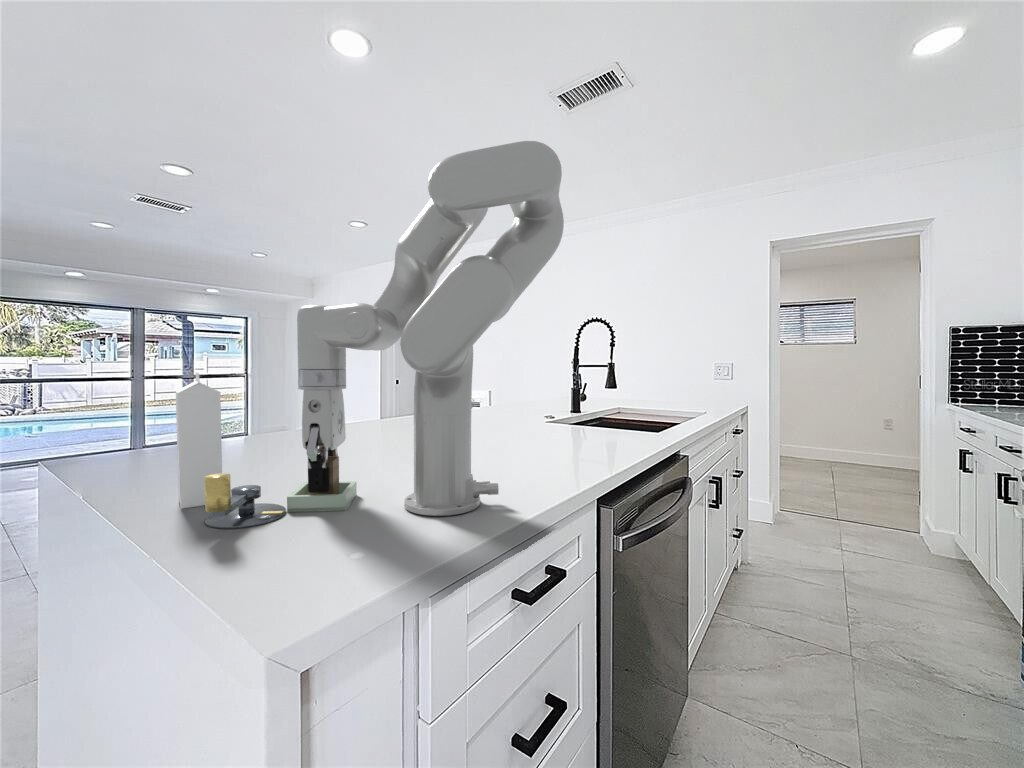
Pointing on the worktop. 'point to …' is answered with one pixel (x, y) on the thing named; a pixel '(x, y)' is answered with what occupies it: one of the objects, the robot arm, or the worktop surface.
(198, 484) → the milk
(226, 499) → the crank
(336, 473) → the block
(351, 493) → the tray
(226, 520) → the crank base
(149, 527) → the worktop surface
